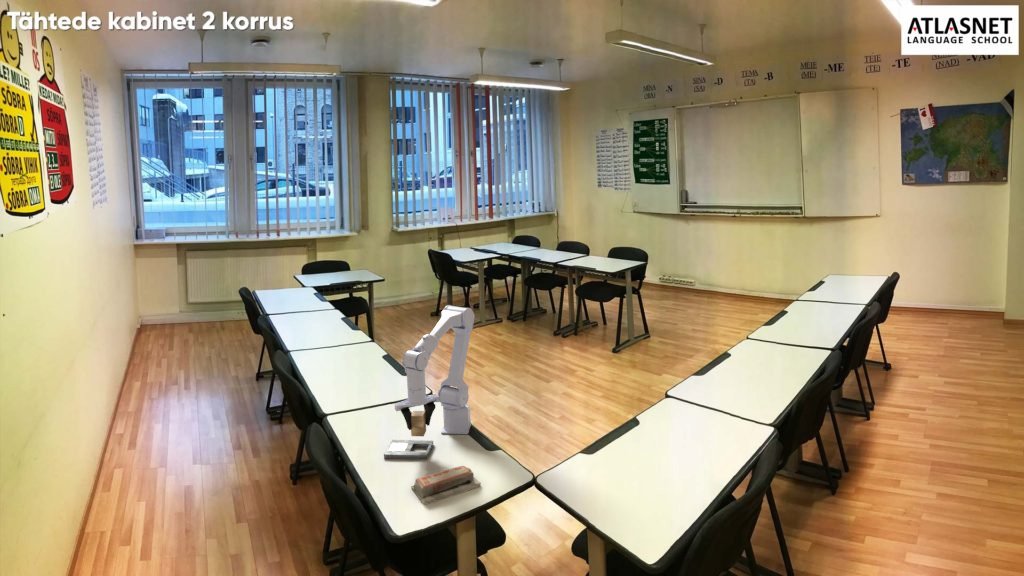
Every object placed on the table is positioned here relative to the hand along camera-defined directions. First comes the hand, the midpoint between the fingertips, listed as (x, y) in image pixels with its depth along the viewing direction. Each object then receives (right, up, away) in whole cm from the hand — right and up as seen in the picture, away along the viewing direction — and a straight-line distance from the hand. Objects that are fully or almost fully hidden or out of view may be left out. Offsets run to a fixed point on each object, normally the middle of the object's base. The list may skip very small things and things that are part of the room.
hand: (418, 426), depth 193 cm
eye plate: (-3, -9, +2) cm, 10 cm away
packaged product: (+11, -14, -19) cm, 26 cm away
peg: (0, -2, +1) cm, 2 cm away
